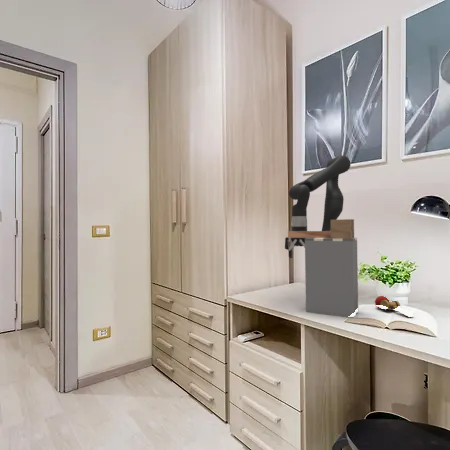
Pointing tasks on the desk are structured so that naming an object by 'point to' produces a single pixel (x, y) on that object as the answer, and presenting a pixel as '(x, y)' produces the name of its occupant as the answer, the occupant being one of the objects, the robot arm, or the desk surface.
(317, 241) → the grey upright pillar
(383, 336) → the desk surface
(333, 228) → the brown angular block
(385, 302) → the kendama
